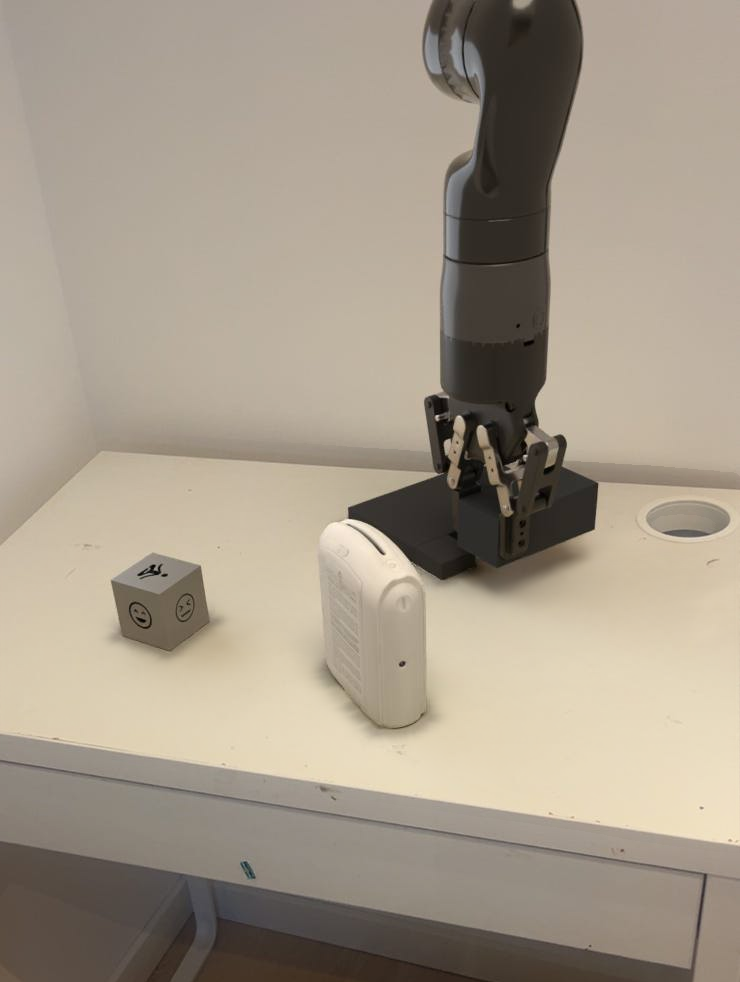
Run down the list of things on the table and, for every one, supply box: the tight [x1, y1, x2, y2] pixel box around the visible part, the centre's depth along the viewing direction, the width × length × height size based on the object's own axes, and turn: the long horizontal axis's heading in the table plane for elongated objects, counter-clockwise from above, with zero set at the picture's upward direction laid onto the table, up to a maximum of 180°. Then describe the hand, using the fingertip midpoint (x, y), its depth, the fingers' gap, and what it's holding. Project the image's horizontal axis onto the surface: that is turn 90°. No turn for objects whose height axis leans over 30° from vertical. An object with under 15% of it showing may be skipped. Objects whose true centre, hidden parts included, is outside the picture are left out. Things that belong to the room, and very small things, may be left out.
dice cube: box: [110, 552, 210, 652], centre depth 92 cm, size 5×5×5 cm
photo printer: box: [317, 518, 428, 729], centre depth 80 cm, size 10×4×12 cm, turn 23°
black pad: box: [347, 473, 477, 581], centre depth 102 cm, size 12×14×2 cm
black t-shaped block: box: [457, 465, 600, 569], centre depth 93 cm, size 10×8×4 cm
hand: (489, 542), depth 91 cm, fingers closed on black t-shaped block, 5 cm apart
